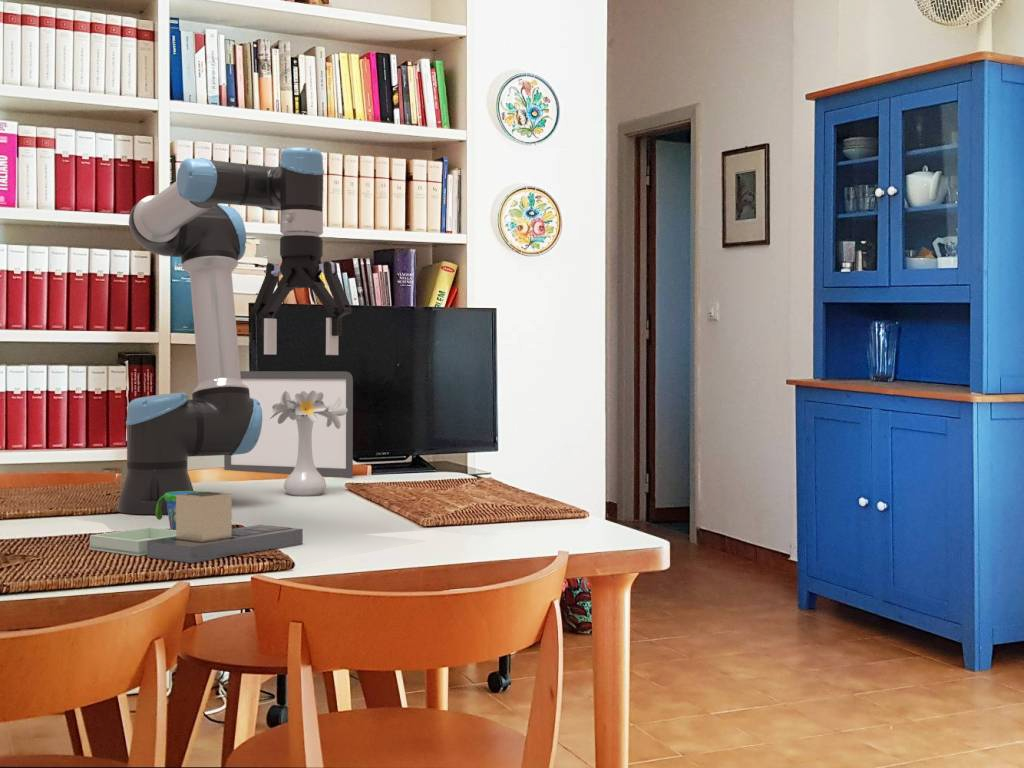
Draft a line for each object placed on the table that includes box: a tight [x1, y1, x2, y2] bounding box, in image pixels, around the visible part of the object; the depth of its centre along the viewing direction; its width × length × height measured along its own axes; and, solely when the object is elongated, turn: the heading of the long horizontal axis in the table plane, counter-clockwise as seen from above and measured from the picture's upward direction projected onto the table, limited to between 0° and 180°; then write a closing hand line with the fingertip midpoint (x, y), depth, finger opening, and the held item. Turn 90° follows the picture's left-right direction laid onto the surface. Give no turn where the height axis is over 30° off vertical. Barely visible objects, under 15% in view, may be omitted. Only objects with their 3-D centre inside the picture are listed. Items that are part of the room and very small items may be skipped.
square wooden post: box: [176, 491, 233, 543], centre depth 185 cm, size 6×6×9 cm
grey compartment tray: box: [146, 524, 304, 564], centre depth 190 cm, size 10×24×3 cm, turn 146°
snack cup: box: [155, 490, 203, 530], centre depth 208 cm, size 11×8×7 cm
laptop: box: [223, 370, 354, 479], centre depth 288 cm, size 38×29×29 cm
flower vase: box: [269, 390, 348, 497], centre depth 264 cm, size 13×18×25 cm
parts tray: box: [89, 527, 176, 557], centre depth 192 cm, size 12×12×2 cm
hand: (300, 354), depth 210 cm, fingers open, 13 cm apart
